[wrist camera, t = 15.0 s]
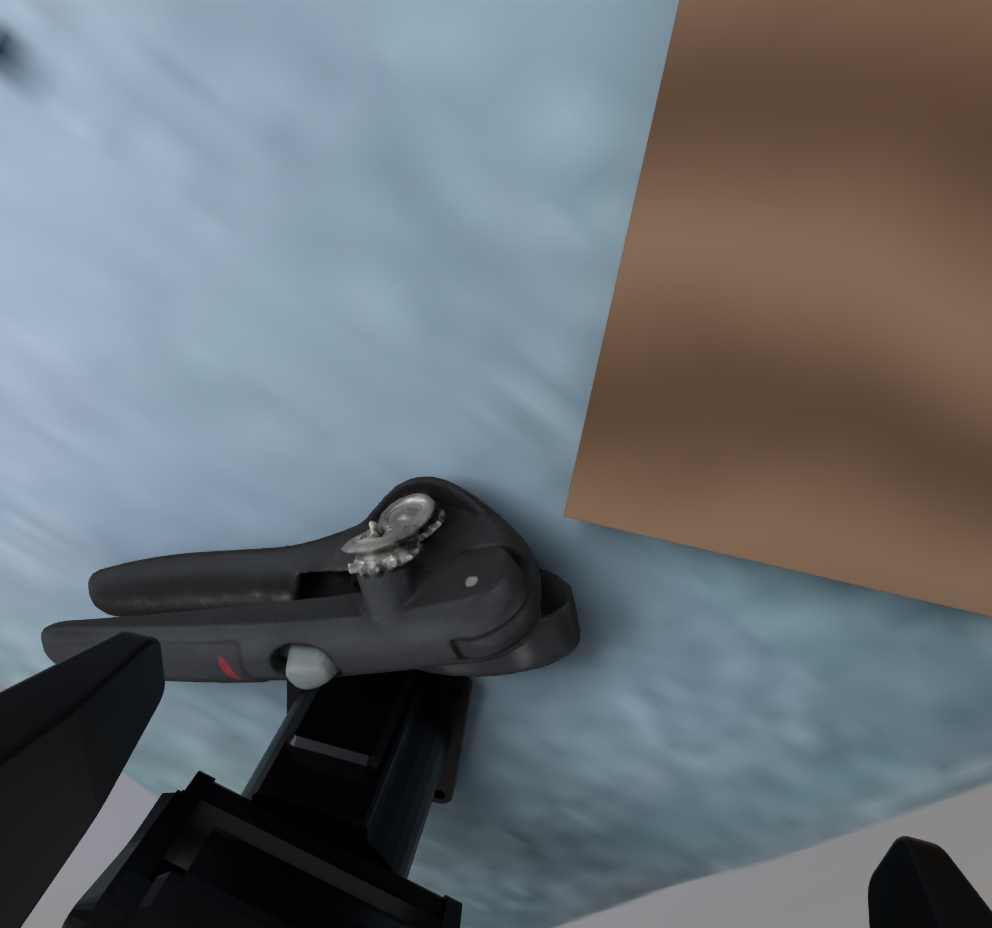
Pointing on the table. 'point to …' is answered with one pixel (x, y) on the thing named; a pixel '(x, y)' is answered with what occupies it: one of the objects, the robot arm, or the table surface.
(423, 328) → the table surface
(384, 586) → the can opener
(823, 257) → the board
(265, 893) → the robot arm
